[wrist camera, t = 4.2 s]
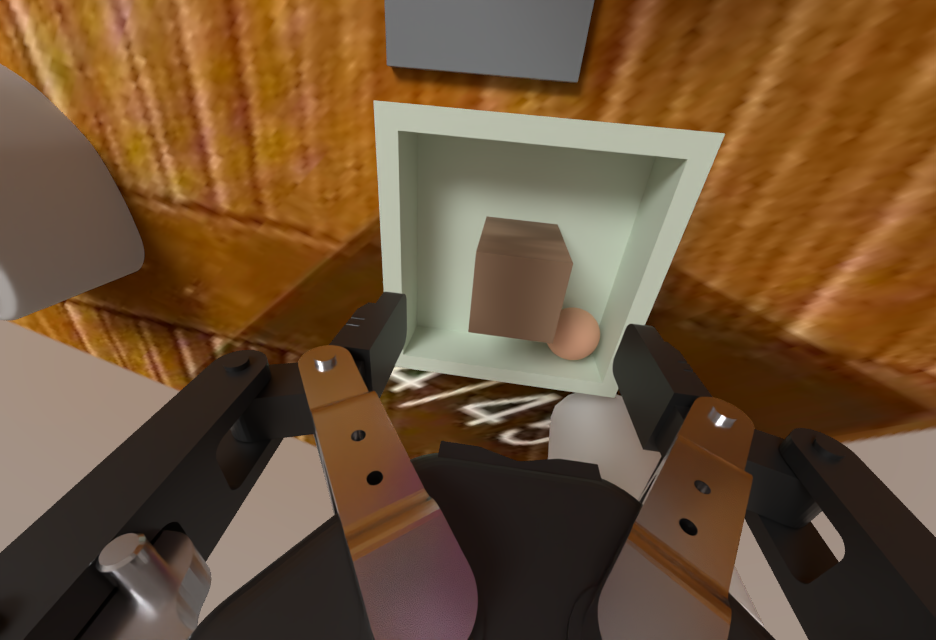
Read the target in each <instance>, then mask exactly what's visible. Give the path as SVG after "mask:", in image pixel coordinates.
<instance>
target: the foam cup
mask: <svg viewBox="0 0 936 640" xmlns="http://www.w3.org/2000/svg"><path fill="white" fill-rule="evenodd" d="M660 458H661V454H660V452H656V451H649V450H643V448H642V446H641V443H640V441H639V438H638V436H637V433H636V431H635V428H634V426H633V423H632V421H631V418H630V416H629V413H628V411H627V408H626V406H625V403H624V401H623V398H622V396H619V395H617V394H616V395H615V398H611V397H604V396H597V395H590V394H583V393H574V394H570V395H568V396H566V397H565V398H564V399H563V400H562V401H560V402H559V403H558V404H557V405H555V408H554V410H553V413H552V415H551V423H550V432H549V450H548V459H565V460H572V461H579V462H585V463H592V464H598V467H599V471H600V475H601V478H602V479H604V480H607V481H609V482H611V483H613V484H615V485H617V486H618V487H620V488H621V489H623V490H625V491H626V492H628V493H629V494H630V495H632V496H633V497H634V498H636V499H637V500H638V498H639V497H640V495H641V493H642V491H643V489H644V487H645V485H646V483H647V482H648V480H649V478H650V476H651V474H652V472H653V470H654V468H655V466H656V465H657V463H658V461H659V459H660ZM729 593H730V594H731V595H732V596H733V597H734V598H735V599H736V600H737V601H738V602H739V603H740V604H741V605H742V606H743V607H744V608H745V609H746V610H747V611H748V612H749V613H750V614H751V615H752V616H753V617H754V618H755V619H756V620H757V621H758V622H759V623H760V624H761V625H762V626H763V623H762V621H761V619H760V617H759V614H758V613H757V610H756V608H755V606H754V604H753V602H752V600H751V598H750V596H749V594H748V592H747V590H746V588H745V586H744V584H743V582H742V580H741V578H740V576H739V574H738V572H737V570H736V568H735V566H734V569H733V574H732V578H731V583H730V588H729Z"/></svg>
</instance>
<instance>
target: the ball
mask: <svg viewBox="0 0 936 640" xmlns="http://www.w3.org/2000/svg"><path fill="white" fill-rule="evenodd" d="M599 340H600V329H599V325H598V323H597V321H596V319H595V318H594V317H593V316H592V315H591V314H590V313H588V312H587V311H585V310H583V309H580V308H574V307H570V308H565V309H562V310H561V313H560V317H559V321H558V325H557V328H556V332H555V336H554V340H553V344H552V343H547V345H548V346H549V348H550V349H551V351H552V352H553V353H554V354H556V355H557V356H559V357H561V358H563V359H566V360H579V359H583V358H585V357H587V356H589V355H590V354H591V353H592V352H593V351H594V350H595V349H596V347H597V345H598V343H599Z"/></svg>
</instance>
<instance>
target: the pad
mask: <svg viewBox="0 0 936 640" xmlns="http://www.w3.org/2000/svg"><path fill="white" fill-rule="evenodd" d="M593 5H594V0H385V23H386V51H387V66H390V67H395V68H407V69H418V70H430V71H441V72H452V73H464V74H475V75H487V76H498V77H509V78H521V79H532V80H544V81H555V82H567V83H577V82H578V78H579V73H580V68H581V63H582V59H583V54H584V49H585V44H586V39H587V34H588V29H589V24H590V20H591V15H592V10H593Z"/></svg>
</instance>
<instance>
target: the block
mask: <svg viewBox="0 0 936 640" xmlns="http://www.w3.org/2000/svg"><path fill="white" fill-rule="evenodd" d="M572 267H573V262H572V259H571V257H570V254H569V252H568V249H567V247H566V244H565V242H564V239H563V237H562V234H561V232H560V229H559V227H558V224H550V223H541V222H532V221H523V220H515V219H506V218H497V217H488V216H487V217H486V220H485V224H484V227H483V230H482V234H481V237H480V240H479V244H478V247H477V250H476V257H475V268H474V278H473V288H472V298H471V308H470V319H469V329H468V332H470V333H478V334H485V335H493V336H500V337H507V338H515V339H522V340H530V341H537V342H544V343H552V344H553V340H554V336H555V332H556V328H557V325H558V321H559V317H560V313H561V309H562V305H563V301H564V298H565V294H566V290H567V286H568V282H569V278H570V274H571V271H572Z"/></svg>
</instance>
